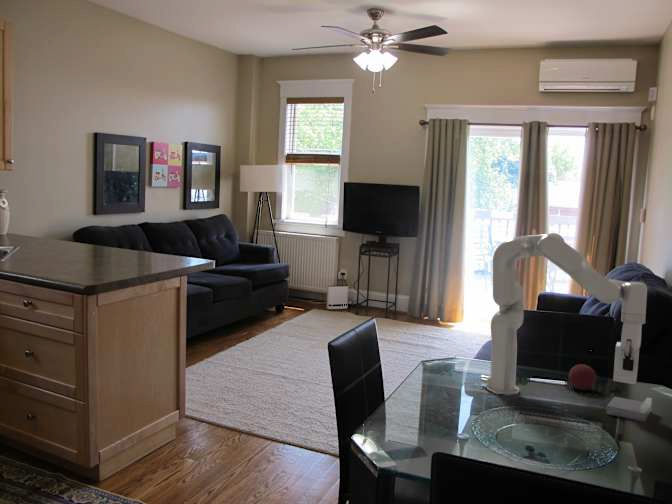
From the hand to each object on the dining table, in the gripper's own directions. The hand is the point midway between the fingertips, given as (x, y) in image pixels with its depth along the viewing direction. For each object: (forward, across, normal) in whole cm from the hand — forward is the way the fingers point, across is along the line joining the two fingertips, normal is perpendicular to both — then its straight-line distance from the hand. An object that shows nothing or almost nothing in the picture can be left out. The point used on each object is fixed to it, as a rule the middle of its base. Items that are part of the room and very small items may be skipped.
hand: (630, 367), depth 207 cm
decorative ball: (+17, -16, -20) cm, 30 cm away
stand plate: (+16, 0, 0) cm, 16 cm away
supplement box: (+5, 0, -1) cm, 5 cm away
